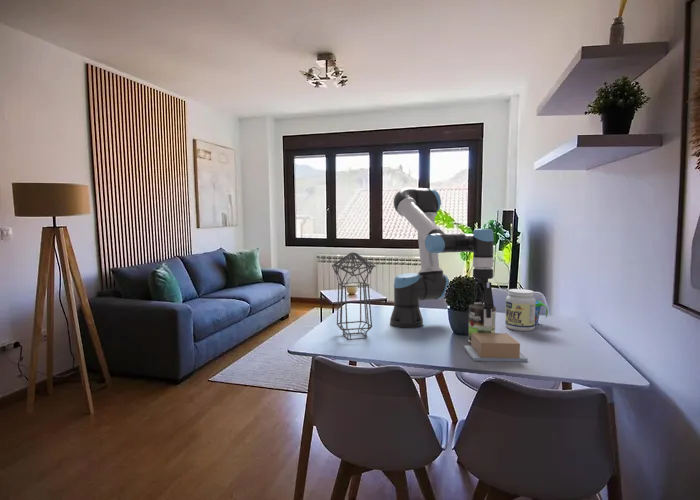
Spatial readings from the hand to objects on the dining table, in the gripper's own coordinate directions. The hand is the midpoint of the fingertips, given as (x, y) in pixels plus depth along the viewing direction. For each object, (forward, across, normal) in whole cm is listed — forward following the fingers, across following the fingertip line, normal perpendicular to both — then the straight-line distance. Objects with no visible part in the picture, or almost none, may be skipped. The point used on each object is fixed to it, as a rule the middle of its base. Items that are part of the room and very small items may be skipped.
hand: (482, 322), depth 159 cm
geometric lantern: (+8, +6, +51) cm, 52 cm away
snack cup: (+8, +32, -31) cm, 45 cm away
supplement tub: (+8, +22, -23) cm, 33 cm away
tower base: (+8, -16, 0) cm, 18 cm away
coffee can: (+8, 0, 0) cm, 8 cm away
